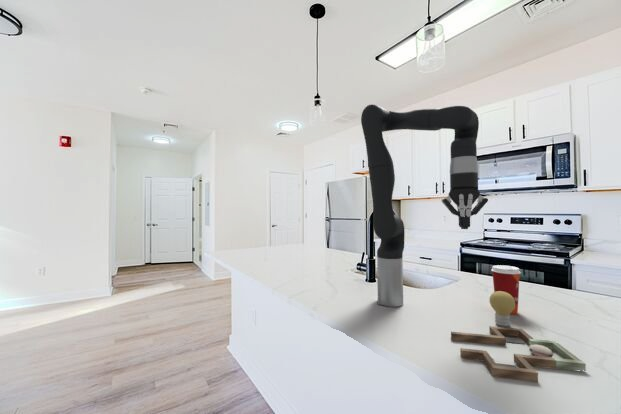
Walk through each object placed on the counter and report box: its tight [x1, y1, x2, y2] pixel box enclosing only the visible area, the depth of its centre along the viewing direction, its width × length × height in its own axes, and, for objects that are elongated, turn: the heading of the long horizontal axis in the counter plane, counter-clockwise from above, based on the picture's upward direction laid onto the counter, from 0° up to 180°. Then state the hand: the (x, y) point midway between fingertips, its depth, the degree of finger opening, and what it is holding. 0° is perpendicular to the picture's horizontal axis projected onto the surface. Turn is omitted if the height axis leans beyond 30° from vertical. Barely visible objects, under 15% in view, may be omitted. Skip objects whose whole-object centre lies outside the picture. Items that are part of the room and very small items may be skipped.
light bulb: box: [489, 291, 515, 328], centre depth 82 cm, size 6×6×10 cm
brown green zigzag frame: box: [450, 325, 587, 383], centre depth 66 cm, size 24×23×2 cm
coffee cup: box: [491, 264, 522, 316], centre depth 93 cm, size 8×8×15 cm
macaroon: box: [528, 344, 554, 358], centre depth 65 cm, size 4×5×2 cm
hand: (464, 228), depth 84 cm, fingers closed
